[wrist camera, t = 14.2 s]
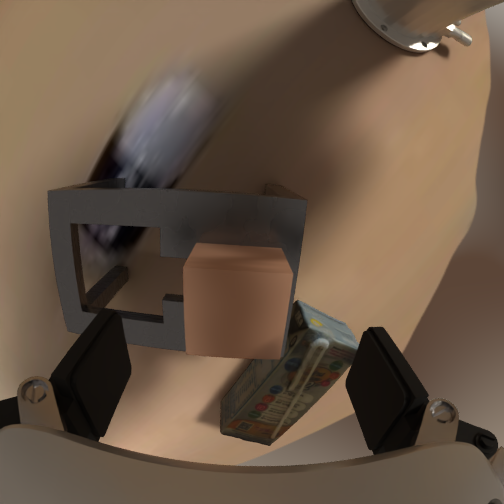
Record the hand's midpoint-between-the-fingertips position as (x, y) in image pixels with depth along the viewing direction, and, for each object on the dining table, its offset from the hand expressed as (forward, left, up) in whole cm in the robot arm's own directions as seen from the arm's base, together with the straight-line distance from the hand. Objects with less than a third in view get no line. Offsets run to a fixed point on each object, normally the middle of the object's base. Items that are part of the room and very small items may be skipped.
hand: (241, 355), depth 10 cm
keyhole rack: (+5, +1, -19) cm, 19 cm away
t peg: (0, +1, -14) cm, 14 cm away
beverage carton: (-6, +17, -19) cm, 26 cm away
